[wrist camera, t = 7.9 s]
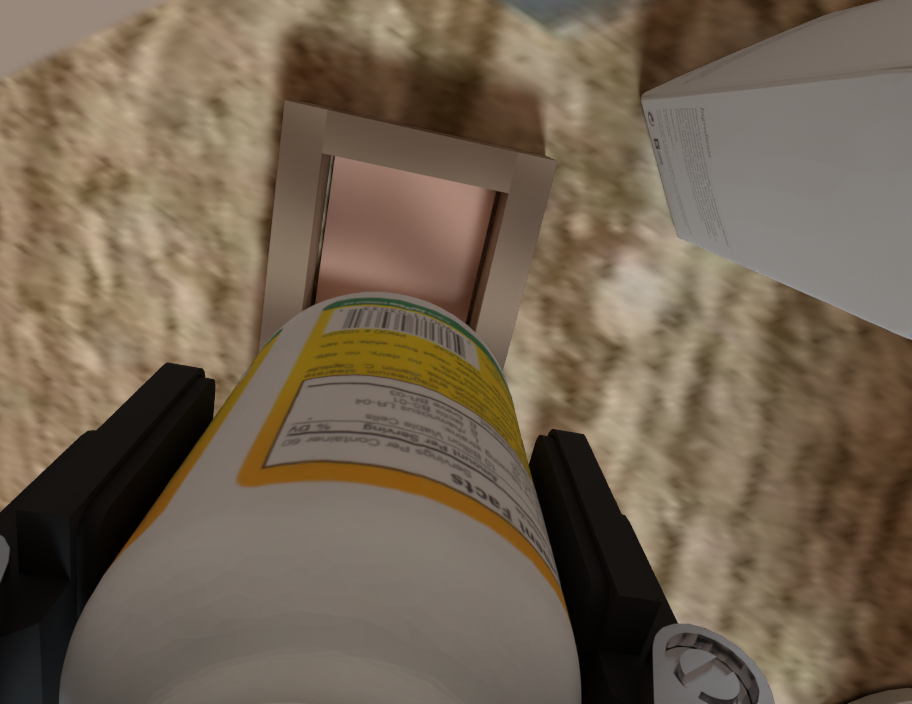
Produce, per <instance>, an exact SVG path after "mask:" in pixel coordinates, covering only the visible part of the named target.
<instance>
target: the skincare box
mask: <svg viewBox="0 0 912 704" xmlns="http://www.w3.org/2000/svg"><path fill="white" fill-rule="evenodd" d="M641 103H642V106H643V110H644V114H645V118H646V122H647V126H648V129H649V133H650V137H651V141H652V145H653V149H654V153H655V157H656V160H657V164H658V168H659V171H660V175H661V179H662V183H663V186H664V190H665V194H666V197H667V201H668V205H669V208H670V212H671V215H672V219H673V223H674V226H675V230H676V234H677V236H678V237H679V238H680V239H683V240H685V241H687V242H689V243H692V244H695V245H696V246H698V247H701V248H703V249H705V250H708V251H710V252H712V253H714V254H717V255H719V256H721V257H724V258H726V259H728V260H731V261H733V262H735V263H738V264H740V265H742V266H744V267H746V268H749V269H751V270H753V271H755V272H758V273H760V274H762V275H764V276H767V277H769V278H771V279H774V280H776V281H778V282H781V283H783V284H785V285H787V286H789V287H792V288H794V289H796V290H799V291H801V292H803V293H805V294H807V295H810V296H812V297H814V298H817V299H819V300H821V301H824V302H826V303H829V304H831V305H832V306H835V307H837V308H839V309H842V310H844V311H846V312H848V313H850V314H853V315H855V316H857V317H859V318H861V319H863V320H866V321H868V322H871V323H873V324H875V325H877V326H880V327H882V328H885V329H887V330H889V331H891V332H893V333H895V334H898V335H900V336H903V337H905V338H908V339H911V340H912V0H880V1H876V2H872V3H868V4H864V5H861V6H857V7H853V8H849V9H845V10H841V11H837V12H833V13H830V14H827V15H824V16H821V17H818V18H816V19H813V20H811V21H808V22H806V23H803V24H801V25H799V26H796V27H794V28H791V29H789V30H787V31H784V32H782V33H780V34H777V35H775V36H772V37H770V38H768V39H765V40H763V41H760V42H758V43H756V44H753V45H751V46H748V47H746V48H744V49H741V50H739V51H736V52H734V53H732V54H729V55H727V56H725V57H722V58H720V59H718V60H716V61H713V62H711V63H709V64H706V65H704V66H702V67H700V68H697V69H695V70H693V71H690V72H688V73H686V74H684V75H681V76H679V77H677V78H674V79H672V80H670V81H668V82H666V83H664V84H662V85H659V86H657V87H655V88H653V89H651V90H649V91H647V92H645V93H643V94H642V97H641Z"/></svg>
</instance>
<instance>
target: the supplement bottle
mask: <svg viewBox="0 0 912 704" xmlns="http://www.w3.org/2000/svg"><path fill="white" fill-rule="evenodd" d="M59 704H581V677H580V668H579V659H578V654H577V649H576V644H575V639H574V634H573V631H572V627H571V623H570V619H569V615H568V611H567V607H566V604H565V600H564V596H563V592H562V589H561V584H560V580H559V576H558V572H557V568H556V564H555V560H554V556H553V553H552V549H551V545H550V541H549V538H548V534H547V530H546V526H545V523H544V519H543V515H542V512H541V508H540V504H539V501H538V497H537V494H536V490H535V487H534V483H533V480H532V476H531V472H530V468H529V464H528V461H527V457H526V453H525V449H524V444H523V441H522V438H521V434H520V430H519V425H518V421H517V417H516V413H515V409H514V404H513V400H512V397H511V394H510V391H509V388H508V385H507V382H506V379H505V376H504V374H503V372H502V369H501V367H500V365H499V363H498V361H497V360H496V358H495V356H494V355H493V353H492V352H491V351H490V349H489V348H488V346H487V345H486V344H485V342H484V341H483V340H482V339H481V338H480V337H479V336H478V335H477V334H476V333H475V332H474V331H473V330H472V329H471V328H470V327H469V326H468V325H466V324H465V323H464V322H463V321H461V320H460V319H458V318H457V317H456V316H454V315H453V314H451V313H449V312H447V311H446V310H444V309H442V308H440V307H438V306H436V305H434V304H432V303H430V302H427V301H424V300H421V299H418V298H414V297H410V296H406V295H402V294H397V293H388V292H360V293H353V294H348V295H343V296H339V297H336V298H332V299H329V300H326V301H323V302H320V303H318V304H316V305H313V306H311V307H309V308H308V309H306V310H304V311H302V312H301V313H299V314H297V315H296V316H295V317H293V318H292V319H291V320H289V321H288V322H287V323H286V324H284V325H283V326H282V327H281V328H280V329H279V330H278V331H277V332H276V333H275V334H274V335H273V336H272V337H271V338H270V340H269V341H268V342H267V343H266V344H265V346H264V347H263V348H262V350H261V351H260V352H259V354H258V355H257V356H256V358H255V359H254V361H253V362H252V364H251V366H250V367H249V368H248V370H247V371H246V372H245V373H244V375H243V376H242V378H241V379H240V381H239V382H238V384H237V385H236V387H235V388H234V390H233V391H232V393H231V394H230V396H229V397H228V399H227V400H226V402H225V403H224V405H223V406H222V407H221V409H220V410H219V412H218V413H217V414H216V416H215V417H214V419H213V420H212V422H211V423H210V425H209V426H208V428H207V429H206V431H205V432H204V433H203V435H202V436H201V437H200V439H199V440H198V441H197V443H196V445H195V446H194V448H193V449H192V451H191V452H190V454H189V455H188V456H187V458H186V459H185V461H184V462H183V463H182V465H181V466H180V468H179V469H178V470H177V471H176V473H175V474H174V475H173V477H172V479H171V480H170V482H169V483H168V485H167V486H166V488H165V489H164V490H163V492H162V493H161V495H160V496H159V498H158V499H157V501H156V502H155V503H154V505H153V506H152V507H151V509H150V510H149V512H148V513H147V515H146V516H145V517H144V519H143V520H142V522H141V523H140V525H139V526H138V527H137V529H136V530H135V532H134V533H133V534H132V536H131V537H130V539H129V540H128V542H127V543H126V544H125V546H124V547H123V549H122V550H121V551H120V553H119V554H118V556H117V557H116V559H115V560H114V561H113V563H112V564H111V566H110V567H109V569H108V570H107V571H106V573H105V574H104V576H103V577H102V579H101V581H100V582H99V584H98V586H97V587H96V589H95V591H94V592H93V594H92V596H91V597H90V599H89V601H88V602H87V604H86V606H85V608H84V610H83V612H82V614H81V616H80V618H79V620H78V622H77V624H76V626H75V628H74V631H73V634H72V637H71V639H70V642H69V645H68V649H67V652H66V656H65V660H64V664H63V668H62V673H61V679H60V690H59Z"/></svg>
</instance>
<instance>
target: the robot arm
mask: <svg viewBox="0 0 912 704" xmlns="http://www.w3.org/2000/svg"><path fill="white" fill-rule="evenodd" d="M214 400H215V380H214V379H210V378H205V371H204V370H203V369H202V368H197V367H191V366H185V365H179V364H173V363H168V362H167V363H166V364H164V365H163V366H162V367H161V368H160V369H159V370H158V371H157V372H156V373H155V374H154V375H153V376H152V377H151V378H150V379H149V380H148V381H147V382H146V383H145V384H143V385H142V386H141V387H140V388H139V389H138V390H137V391H136V392H135V393H134V394H133V395H132V396H131V397H130V398H129V399H128V400H127V401H126V402H125V403H124V404H123V405H122V406H121V407H120V408H119V409H118V410H117V411H116V412H115V413H114V414H113V415H112V416H111V417H110V418H109V419H108V420H107V421H106V422H105V423H104V424H103V425H102V426H100V427H99V428H98V429H97V430H91V431H87V432H86V433H84V434H83V435H81V436H80V437H79V438H78V439H77V440H76V441H75V442H74V443H73V444H72V445H71V446H70V447H69V448H68V449H66V450H65V451H64V452H63V453H62V454H61V455H60V456H59V457H58V458H57V459H56V460H55V461H54V462H53V463H52V464H51V465H50V466H49V467H47V468H46V469H45V470H44V471H43V472H42V473H41V474H40V475H39V476H38V477H37V478H36V479H35V480H34V481H33V482H32V483H31V484H30V485H28V486H27V487H26V488H25V489H24V490H23V491H22V492H21V493H20V494H19V495H18V496H17V497H16V498H15V499H14V500H13V501H12V502H11V503H10V504H8V505H7V506H6V507H5V508H4V509H3V510H2V511H1V512H0V704H59V690H60V679H61V673H62V668H63V664H64V660H65V656H66V652H67V649H68V645H69V642H70V639H71V637H72V634H73V631H74V628H75V626H76V624H77V622H78V620H79V618H80V616H81V614H82V612H83V610H84V608H85V606H86V604H87V602H88V601H89V599H90V597H91V596H92V594H93V592H94V591H95V589H96V587H97V586H98V584H99V582H100V581H101V579H102V577H103V576H104V574H105V573H106V571H107V570H108V569H109V567H110V566H111V564H112V563H113V561H114V560H115V559H116V557H117V556H118V554H119V553H120V551H121V550H122V549H123V547H124V546H125V544H126V543H127V542H128V540H129V539H130V537H131V536H132V534H133V533H134V532H135V530H136V529H137V527H138V526H139V525H140V523H141V522H142V520H143V519H144V517H145V516H146V515H147V513H148V512H149V510H150V509H151V507H152V506H153V505H154V503H155V502H156V501H157V499H158V498H159V496H160V495H161V493H162V492H163V490H164V489H165V488H166V486H167V485H168V483H169V482H170V480H171V479H172V477H173V475H174V474H175V473H176V471H177V470H178V469H179V468H180V466H181V465H182V463H183V462H184V461H185V459H186V458H187V456H188V455H189V454H190V452H191V451H192V449H193V448H194V446H195V445H196V443H197V441H198V440H199V439H200V437H201V436H202V435H203V433H204V432H205V431H206V429H207V428H208V426H209V425H210V423H211V422H212V420H213V413H214ZM529 468H530V472H531V476H532V480H533V483H534V487H535V490H536V494H537V497H538V501H539V504H540V508H541V512H542V515H543V519H544V523H545V526H546V530H547V534H548V538H549V541H550V545H551V549H552V553H553V556H554V560H555V564H556V568H557V572H558V576H559V580H560V584H561V589H562V592H563V596H564V600H565V604H566V607H567V611H568V615H569V619H570V623H571V627H572V631H573V634H574V639H575V644H576V649H577V654H578V659H579V668H580V677H581V704H775V702H774V698H773V694H772V691H771V689H770V686H769V684H768V682H767V679H766V677H765V676H764V674H763V673H762V672H761V670H760V669H759V667H758V666H757V665H756V663H755V662H754V661H753V660H752V659H751V658H750V657H749V656H748V655H747V654H746V653H745V652H744V651H742V650H741V649H740V648H739V647H738V646H736V645H735V644H733V643H732V642H730V641H729V640H727V639H726V638H725V637H723V636H721V635H719V634H717V633H715V632H713V631H710V630H708V629H706V628H703V627H699V626H695V625H691V624H678V623H677V620H676V618H675V616H674V614H673V612H672V610H671V608H670V606H669V604H668V602H667V599H666V597H665V595H664V593H663V591H662V589H661V587H660V585H659V583H658V581H657V578H656V576H655V574H654V572H653V570H652V568H651V566H650V564H649V562H648V560H647V557H646V555H645V553H644V551H643V549H642V547H641V545H640V543H639V541H638V539H637V536H636V534H635V532H634V530H633V528H632V526H631V524H630V522H629V520H628V519H627V517H626V516H625V515H623V514H621V512H620V510H619V507H618V505H617V503H616V501H615V499H614V497H613V495H612V492H611V490H610V488H609V486H608V484H607V482H606V479H605V477H604V475H603V473H602V471H601V469H600V467H599V464H598V462H597V460H596V458H595V456H594V454H593V452H592V449H591V447H590V445H589V443H588V441H587V439H586V437H585V435H584V434H579V433H574V432H568V431H562V430H556V429H552V430H551V431H550V432H549V434H548V436H543V435H539V436H538V438H537V440H536V443H535V446H534V449H533V453H532V456H531V459H530V463H529ZM847 704H912V688H902V689H894V690H887V691H883V692H879V693H875V694H871V695H867V696H865V697H862V698H860V699H857V700H855V701H852V702H849V703H847Z"/></svg>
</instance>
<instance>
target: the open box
mask: <svg viewBox="0 0 912 704" xmlns="http://www.w3.org/2000/svg"><path fill="white" fill-rule="evenodd" d="M331 155H332V156H335V161H334V168H333V175H332V183H331V190H330V198H329V205H328V212H327V220H326V227H325V235H324V242H323V249H322V257H321V264H320V272H319V279H318V286H317V294H316V301H315V305H316V304H318V303H320V302H323V301H326V300H329V299H332V298H336V297H339V296H343V295H348V294H353V293H360V292H388V293H397V294H402V295H406V296H410V297H414V298H418V299H421V300H424V301H427V302H430V303H432V304H434V305H436V306H438V307H440V308H442V309H444V310H446V311H447V312H449V313H451V314H453V315H454V316H456V317H457V318H458V319H460V320H461V321H463V322H464V323H465V324H466V320H467V315H468V311H469V307H470V302H471V298H472V294H473V289H474V285H475V281H476V276H477V272H478V268H479V263H480V259H481V255H482V250H483V246H484V242H485V237H486V233H487V229H488V224H489V220H490V216H491V211H492V207H493V203H494V198H495V194H496V191H500V194H499V198H498V202H497V207H496V211H495V215H494V220H493V224H492V228H491V232H490V237H489V241H488V245H487V250H486V254H485V258H484V262H483V267H482V271H481V275H480V280H479V284H478V288H477V292H476V297H475V301H474V305H473V310H472V314H471V318H470V322H469V327H470V328H471V329H472V330H473V331H474V332H475V333H476V334H477V335H478V336H479V337H480V338H481V339H482V340H483V341H484V342H485V344H486V345H487V346H488V348H489V349H490V351H491V352H492V353H493V355H494V356H495V358H496V360H497V361H498V363H499V365H500V367H501V369H502V372H503V368H504V364H505V360H506V357H507V353H508V349H509V345H510V341H511V338H512V334H513V330H514V326H515V322H516V318H517V315H518V311H519V307H520V303H521V299H522V296H523V292H524V288H525V284H526V280H527V276H528V273H529V269H530V265H531V261H532V257H533V254H534V250H535V246H536V242H537V238H538V234H539V231H540V227H541V223H542V219H543V215H544V212H545V208H546V204H547V200H548V196H549V192H550V189H551V185H552V181H553V177H554V173H555V170H556V166H557V162H558V161H556V160H554V159H552V158H550V157H547V156H544V155H540V154H535V153H531V152H526V151H522V150H517V149H513V148H509V147H504V146H500V145H495V144H491V143H486V142H482V141H477V140H473V139H468V138H464V137H459V136H455V135H451V134H446V133H442V132H437V131H433V130H428V129H424V128H419V127H415V126H410V125H406V124H401V123H397V122H392V121H388V120H384V119H379V118H375V117H370V116H366V115H361V114H357V113H352V112H348V111H343V110H339V109H334V108H330V107H325V106H321V105H317V104H312V103H308V102H303V101H299V100H285V102H284V111H283V121H282V131H281V140H280V150H279V160H278V169H277V179H276V189H275V198H274V208H273V218H272V228H271V237H270V247H269V257H268V266H267V276H266V286H265V295H264V305H263V315H262V324H261V334H260V344H259V352H260V351H261V350H262V348H263V347H264V346H265V344H266V343H267V342H268V341H269V340H270V338H271V337H272V336H273V335H274V334H275V333H276V332H277V331H278V330H279V329H280V328H281V327H282V326H283V325H284V324H286V323H287V322H288V321H289V320H291V319H292V318H293V317H295V316H296V315H297V314H299V313H301V312H302V311H304V310H306V309H308V308H309V307H311V303H312V295H313V288H314V280H315V273H316V265H317V258H318V250H319V242H320V235H321V227H322V220H323V212H324V205H325V197H326V190H327V182H328V175H329V167H330V160H331Z"/></svg>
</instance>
